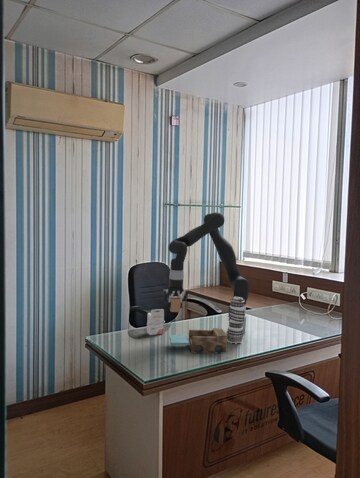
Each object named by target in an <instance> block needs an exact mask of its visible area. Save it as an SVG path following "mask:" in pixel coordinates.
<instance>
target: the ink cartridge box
mask: <svg viewBox="0 0 360 478" xmlns="http://www.w3.org/2000/svg"><path fill="white" fill-rule="evenodd" d="M146 318H147V319H146V321H147V322H146V333H147V334H148V335H149V336H155V335H162V334H163V335H164V323H165V309H163V308H158V309H157V308H156V309H155V308H154V309H151V310H150V312H148V313H147V317H146Z"/></svg>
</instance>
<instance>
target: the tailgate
mask: <svg viewBox="0 0 360 478" xmlns="http://www.w3.org/2000/svg"><path fill="white" fill-rule="evenodd" d="M168 339H169V343H170V345H171V346H188V347H189V346H190V343H189V337H188V336H187V335H186V334H168Z"/></svg>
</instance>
